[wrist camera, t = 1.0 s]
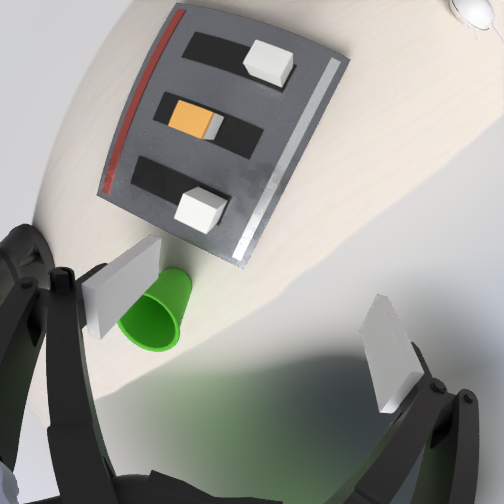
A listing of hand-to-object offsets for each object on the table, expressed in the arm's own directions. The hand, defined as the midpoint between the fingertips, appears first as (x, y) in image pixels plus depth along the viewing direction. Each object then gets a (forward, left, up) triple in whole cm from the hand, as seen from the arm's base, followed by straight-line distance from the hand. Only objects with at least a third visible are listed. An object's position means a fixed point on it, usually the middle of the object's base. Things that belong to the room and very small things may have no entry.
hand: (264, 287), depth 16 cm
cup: (-9, -17, -21) cm, 29 cm away
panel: (-13, +6, -21) cm, 25 cm away
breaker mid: (-13, +6, -19) cm, 23 cm away
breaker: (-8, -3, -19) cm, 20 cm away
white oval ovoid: (+11, +41, -21) cm, 48 cm away
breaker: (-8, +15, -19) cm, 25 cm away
